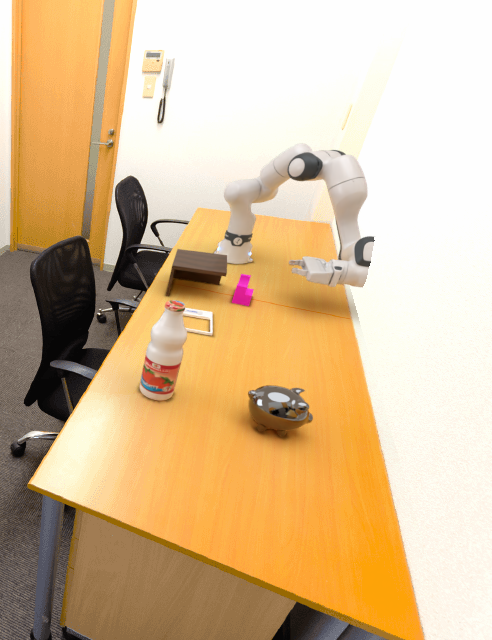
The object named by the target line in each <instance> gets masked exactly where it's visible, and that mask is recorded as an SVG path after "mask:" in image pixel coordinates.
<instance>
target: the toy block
mask: <svg viewBox="0 0 492 640" xmlns="http://www.w3.org/2000/svg"><path fill="white" fill-rule="evenodd" d="M251 277H252V275H250V274H245V273H241V274H240V276H239V278H238V283H237V284H236V287H235V290H234V293H233V297H232V299H231V304H236V305H240V306H245V307H249V306H250V303H251V301H252V298H253V294H254V290H255V289H254V288H249V284H250V280H251Z"/></svg>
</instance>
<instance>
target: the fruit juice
mask: <svg viewBox="0 0 492 640" xmlns="http://www.w3.org/2000/svg"><path fill="white" fill-rule="evenodd" d="M185 308H186V304H185V303H184V302H182V301H180V300H175V299H172V300H171V299H170V300H167V301H166V302H165V304H164V311H163V313H162V314H161V316H160V317H159V319H158V320H157V321H156V322H155V323H154V324H153V325H152V328H151V329H150V341H149V342H148V344H147V347H146V351H145V356H144V360H143V366H142V371H141V376H140V381H139V391H140V393H141V394H142V395H143V396H144V397H146V398H148V399H151V400H153V401H154V400H155V401H167V400H169V399H171V398H172V396H173V395H174V393H175V388H176V385H177V382H178V376H179V374H180V369H181V365H182V361H183V357H184V345H185V344H186V341H187V339H188V331H187V330H186V328H187V327H186V326H185V321H184V315H183V312H184V310H185Z"/></svg>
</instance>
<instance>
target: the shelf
mask: <svg viewBox="0 0 492 640" xmlns="http://www.w3.org/2000/svg"><path fill="white" fill-rule="evenodd" d="M227 274H228V263H227V255H222V254H214V252H204V251H197V250H189V249H181V248H177V250H176V252H175V255H174V258H173V261H172V265H171V269H170V273H169V279H168V283H167V288H166V292H165V296H166V297H169V296H170V293H171V290H172V288H173V287H172V286H173V284H174V280H175V279H176V280H181V281H182V280H183V281H189V282H195V283H204V284H210V285H215V286H220V284H221V280H222V277H227Z"/></svg>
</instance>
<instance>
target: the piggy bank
mask: <svg viewBox="0 0 492 640" xmlns="http://www.w3.org/2000/svg"><path fill="white" fill-rule="evenodd" d="M304 392H306V390H305V389H303V388H301V387H292V388H287V387H285V386H280V385H275V384H267V385H262V386H258V387H257V388H256V389H252V390H248V391H247V395H248V412H249V414H250V416H251V418H252V419H253V420H254V422H256V424H257V425H256V430H257V431H258V432H260V433H263V432H265V431H267V429H270V430H274V431H275V432H276V434H277V435H278V436H279V437H285V436H286V434H287V433H288V432H289V431H294V430H297V429H300V428H302V427H304V426H305V425H308V424H311V423H312V422H313V420H314V416H313V413H311V412H310V404H309V403H308V402H306V400H305V399H304V397H303V396H302V395H301V393H304Z"/></svg>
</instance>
